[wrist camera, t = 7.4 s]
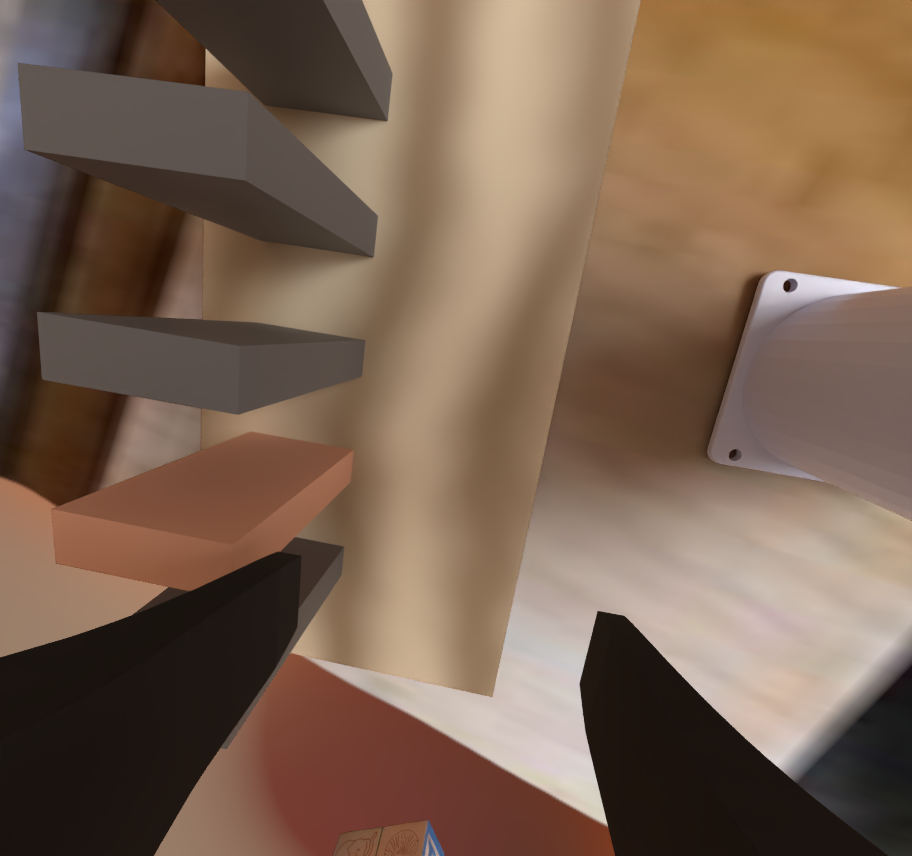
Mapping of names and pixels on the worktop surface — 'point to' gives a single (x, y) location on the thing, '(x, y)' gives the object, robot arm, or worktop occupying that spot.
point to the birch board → (438, 315)
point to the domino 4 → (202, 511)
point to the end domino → (315, 586)
